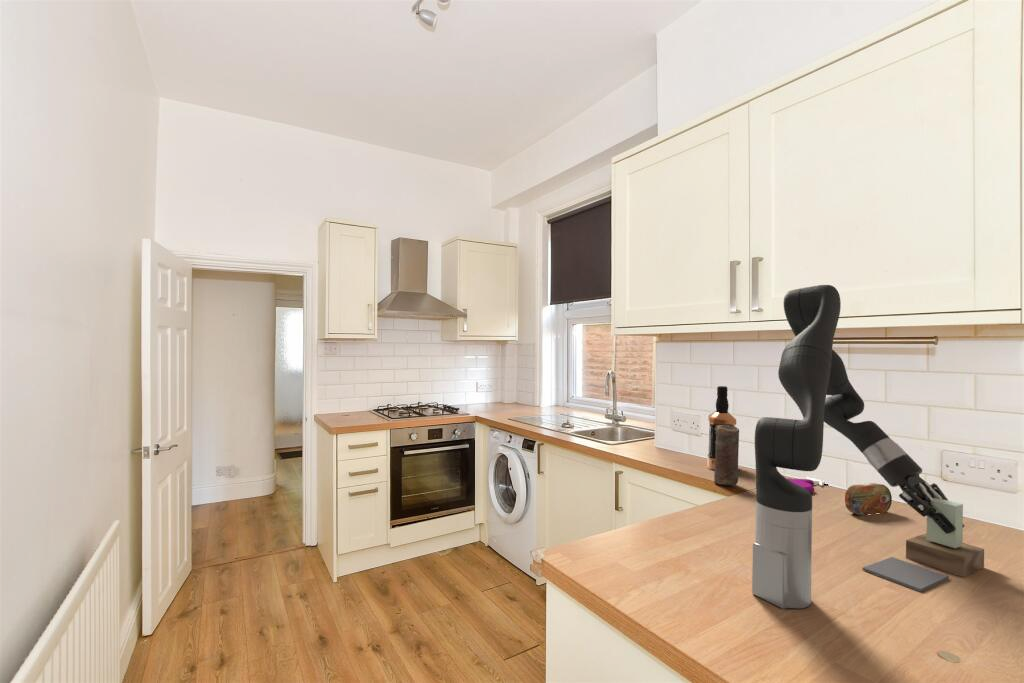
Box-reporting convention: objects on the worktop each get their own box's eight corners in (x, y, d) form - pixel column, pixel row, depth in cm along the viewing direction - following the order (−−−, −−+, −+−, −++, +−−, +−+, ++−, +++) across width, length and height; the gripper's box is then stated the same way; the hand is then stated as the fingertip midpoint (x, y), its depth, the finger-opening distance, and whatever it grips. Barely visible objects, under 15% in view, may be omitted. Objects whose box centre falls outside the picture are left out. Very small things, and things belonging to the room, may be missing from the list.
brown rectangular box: (963, 577, 99) (963, 557, 99) (905, 557, 108) (906, 540, 108) (984, 567, 104) (984, 548, 104) (927, 549, 113) (927, 532, 113)
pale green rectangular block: (955, 548, 103) (955, 506, 103) (926, 539, 107) (927, 499, 107) (962, 545, 104) (962, 504, 104) (933, 537, 109) (934, 497, 109)
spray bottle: (765, 490, 160) (801, 481, 173) (799, 499, 151) (835, 489, 164) (765, 481, 160) (801, 473, 173) (799, 490, 151) (835, 480, 164)
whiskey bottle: (706, 463, 195) (708, 384, 195) (733, 465, 192) (734, 385, 192) (708, 469, 185) (709, 386, 185) (736, 472, 182) (737, 387, 182)
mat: (920, 592, 92) (920, 589, 92) (862, 570, 101) (862, 567, 101) (948, 579, 98) (948, 576, 98) (891, 559, 107) (891, 556, 107)
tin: (852, 517, 134) (852, 487, 134) (842, 513, 137) (842, 484, 137) (892, 513, 138) (893, 484, 138) (881, 509, 141) (882, 481, 141)
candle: (737, 483, 166) (738, 425, 167) (739, 488, 160) (740, 428, 160) (713, 480, 169) (714, 424, 169) (714, 486, 162) (715, 427, 162)
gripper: (889, 455, 109) (957, 527, 98) (919, 450, 116) (986, 517, 105) (863, 473, 114) (925, 543, 103) (893, 467, 121) (954, 533, 110)
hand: (955, 530), depth 104 cm, fingers closed on pale green rectangular block, 3 cm apart
